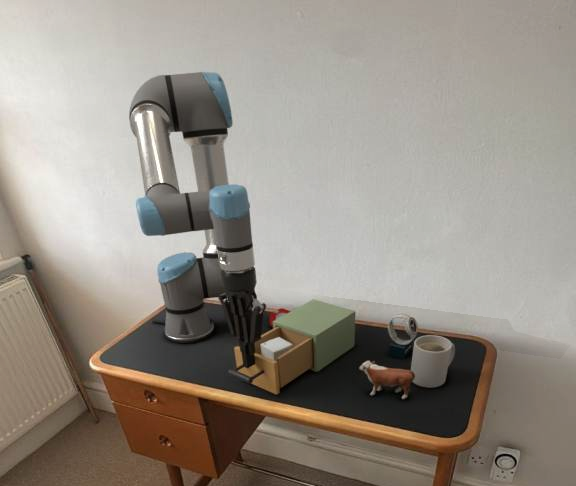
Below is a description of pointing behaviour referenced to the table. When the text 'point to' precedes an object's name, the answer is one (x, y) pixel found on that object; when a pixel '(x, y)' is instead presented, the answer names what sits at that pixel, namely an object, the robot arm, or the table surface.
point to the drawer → (280, 371)
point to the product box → (275, 348)
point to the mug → (431, 360)
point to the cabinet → (322, 329)
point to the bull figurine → (388, 377)
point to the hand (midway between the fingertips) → (249, 365)
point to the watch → (402, 345)
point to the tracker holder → (277, 315)
